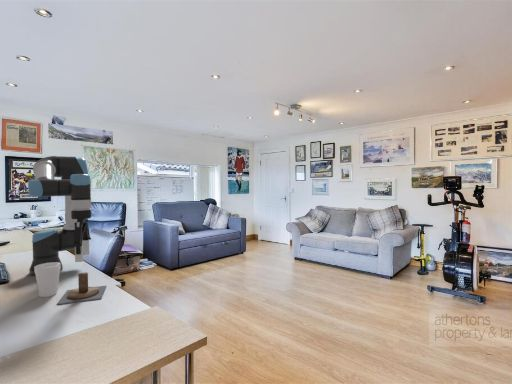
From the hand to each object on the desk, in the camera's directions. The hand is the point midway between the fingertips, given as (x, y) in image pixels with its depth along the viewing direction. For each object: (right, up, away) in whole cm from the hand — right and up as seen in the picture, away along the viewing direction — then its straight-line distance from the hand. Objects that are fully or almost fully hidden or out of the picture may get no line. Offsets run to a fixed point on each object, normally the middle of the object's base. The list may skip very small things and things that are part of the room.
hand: (82, 258), depth 126 cm
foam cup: (-17, -17, +2) cm, 24 cm away
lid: (0, -16, +1) cm, 16 cm away
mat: (0, -17, +1) cm, 17 cm away
